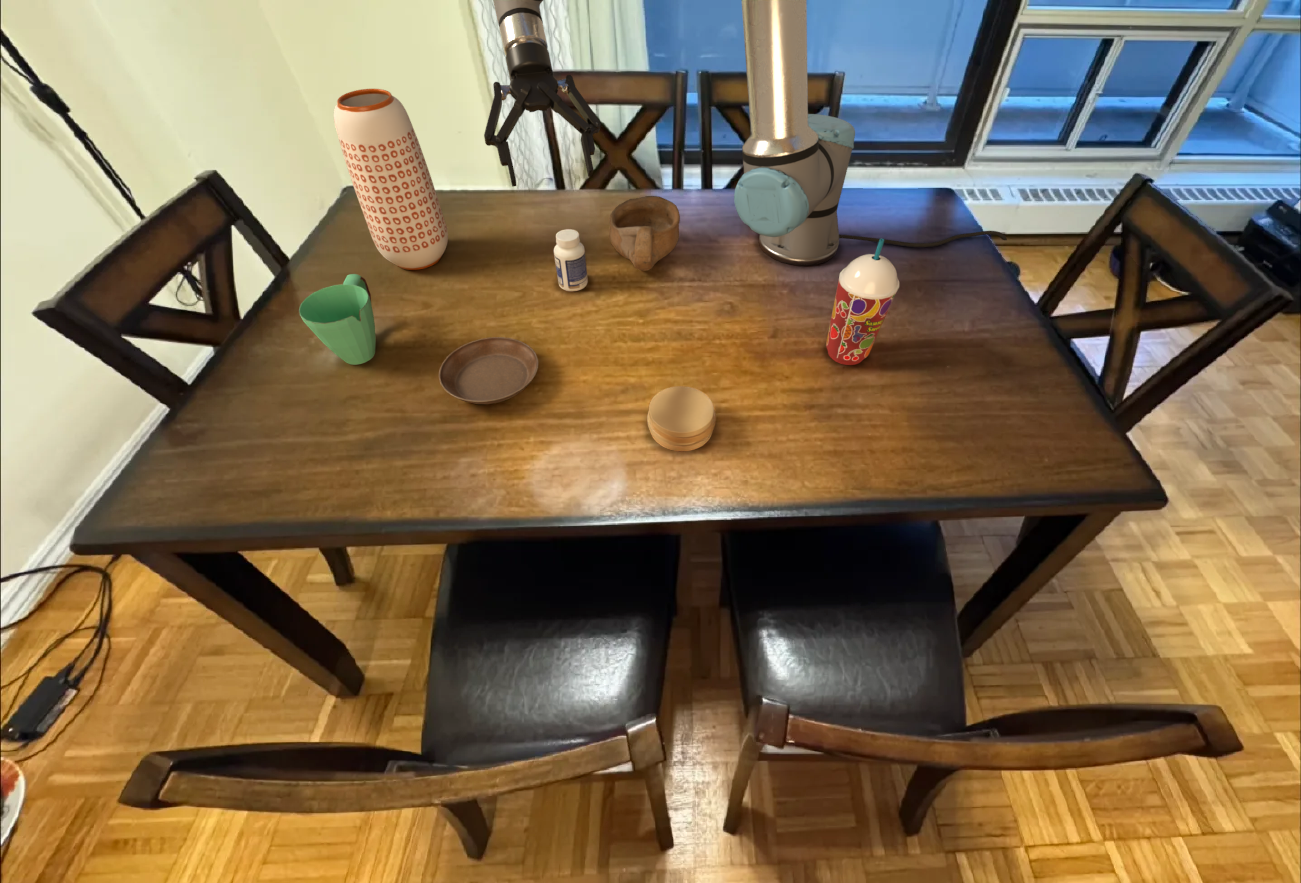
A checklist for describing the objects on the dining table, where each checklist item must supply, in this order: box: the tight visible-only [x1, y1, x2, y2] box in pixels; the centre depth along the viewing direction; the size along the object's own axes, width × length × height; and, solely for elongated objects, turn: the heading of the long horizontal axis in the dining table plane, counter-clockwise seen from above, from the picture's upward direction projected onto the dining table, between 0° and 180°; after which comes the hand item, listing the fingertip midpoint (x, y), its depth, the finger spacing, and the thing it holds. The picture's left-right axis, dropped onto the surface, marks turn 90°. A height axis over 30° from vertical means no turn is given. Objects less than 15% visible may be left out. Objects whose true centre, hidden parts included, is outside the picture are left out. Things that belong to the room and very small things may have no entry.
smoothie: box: [825, 238, 900, 366], centre depth 86 cm, size 8×8×20 cm
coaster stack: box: [646, 385, 717, 452], centre depth 82 cm, size 10×10×4 cm
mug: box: [298, 273, 377, 366], centre depth 92 cm, size 15×10×10 cm
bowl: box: [608, 195, 681, 271], centre depth 110 cm, size 18×14×10 cm
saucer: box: [438, 336, 539, 405], centre depth 89 cm, size 15×15×3 cm
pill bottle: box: [553, 228, 589, 292], centre depth 104 cm, size 5×5×10 cm
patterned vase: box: [333, 88, 449, 271], centre depth 103 cm, size 13×13×28 cm
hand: (553, 178), depth 103 cm, fingers open, 13 cm apart
